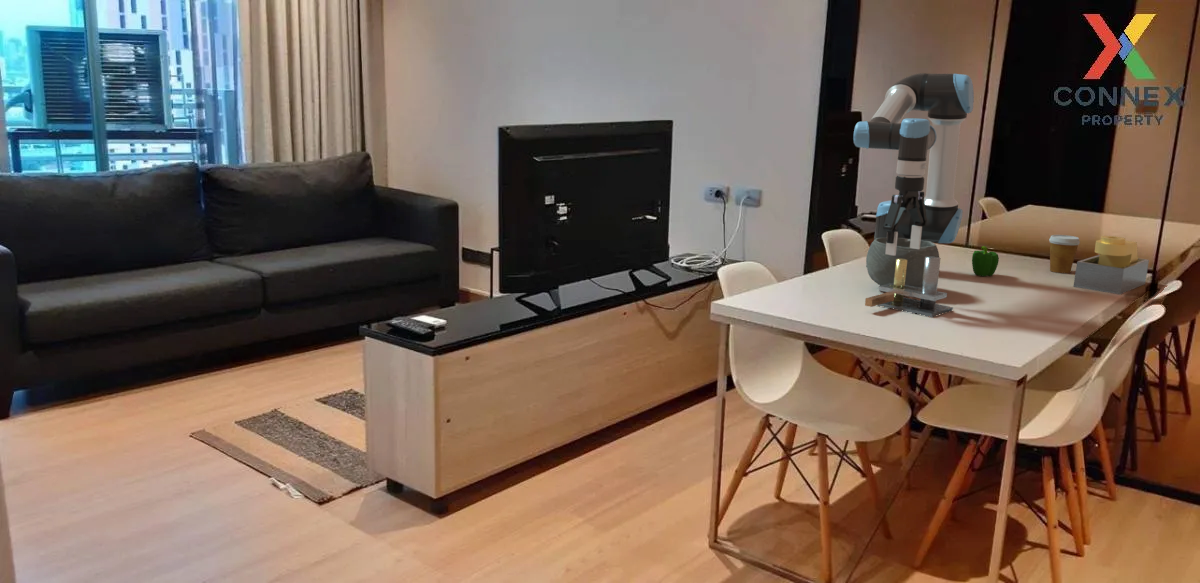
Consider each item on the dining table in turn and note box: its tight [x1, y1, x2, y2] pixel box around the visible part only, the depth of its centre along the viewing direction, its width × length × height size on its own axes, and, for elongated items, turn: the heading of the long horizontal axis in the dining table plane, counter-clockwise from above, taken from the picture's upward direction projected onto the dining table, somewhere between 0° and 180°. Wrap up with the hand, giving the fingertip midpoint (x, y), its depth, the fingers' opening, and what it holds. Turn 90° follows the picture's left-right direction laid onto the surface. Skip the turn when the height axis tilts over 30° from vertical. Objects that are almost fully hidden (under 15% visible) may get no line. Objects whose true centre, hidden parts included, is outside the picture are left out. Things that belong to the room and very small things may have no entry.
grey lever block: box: [864, 256, 954, 318], centre depth 255 cm, size 18×22×15 cm
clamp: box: [1094, 235, 1139, 268], centre depth 297 cm, size 20×9×16 cm, turn 134°
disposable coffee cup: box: [1048, 234, 1081, 274], centre depth 316 cm, size 10×10×12 cm
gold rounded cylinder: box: [893, 259, 907, 302], centre depth 262 cm, size 3×3×12 cm
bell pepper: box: [971, 245, 1000, 277], centre depth 307 cm, size 8×8×10 cm
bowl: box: [865, 237, 940, 288], centre depth 280 cm, size 21×21×15 cm
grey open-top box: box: [1073, 254, 1150, 295], centre depth 297 cm, size 14×24×8 cm, turn 134°
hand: (902, 251), depth 260 cm, fingers open, 13 cm apart
